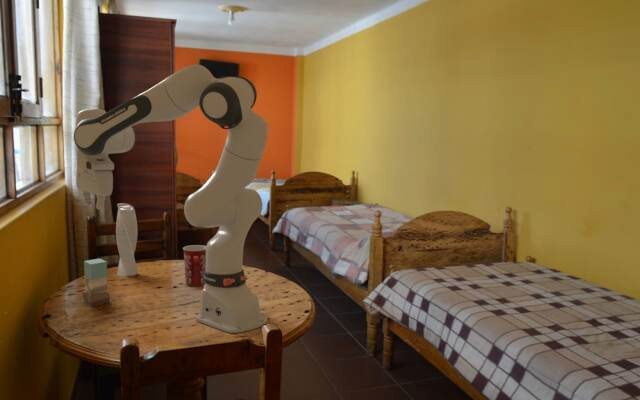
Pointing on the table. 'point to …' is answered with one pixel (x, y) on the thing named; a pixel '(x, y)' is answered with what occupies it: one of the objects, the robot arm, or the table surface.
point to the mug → (195, 264)
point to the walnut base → (95, 298)
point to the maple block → (96, 286)
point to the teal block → (95, 269)
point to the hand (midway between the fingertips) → (93, 206)
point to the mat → (95, 304)
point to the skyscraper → (126, 239)
